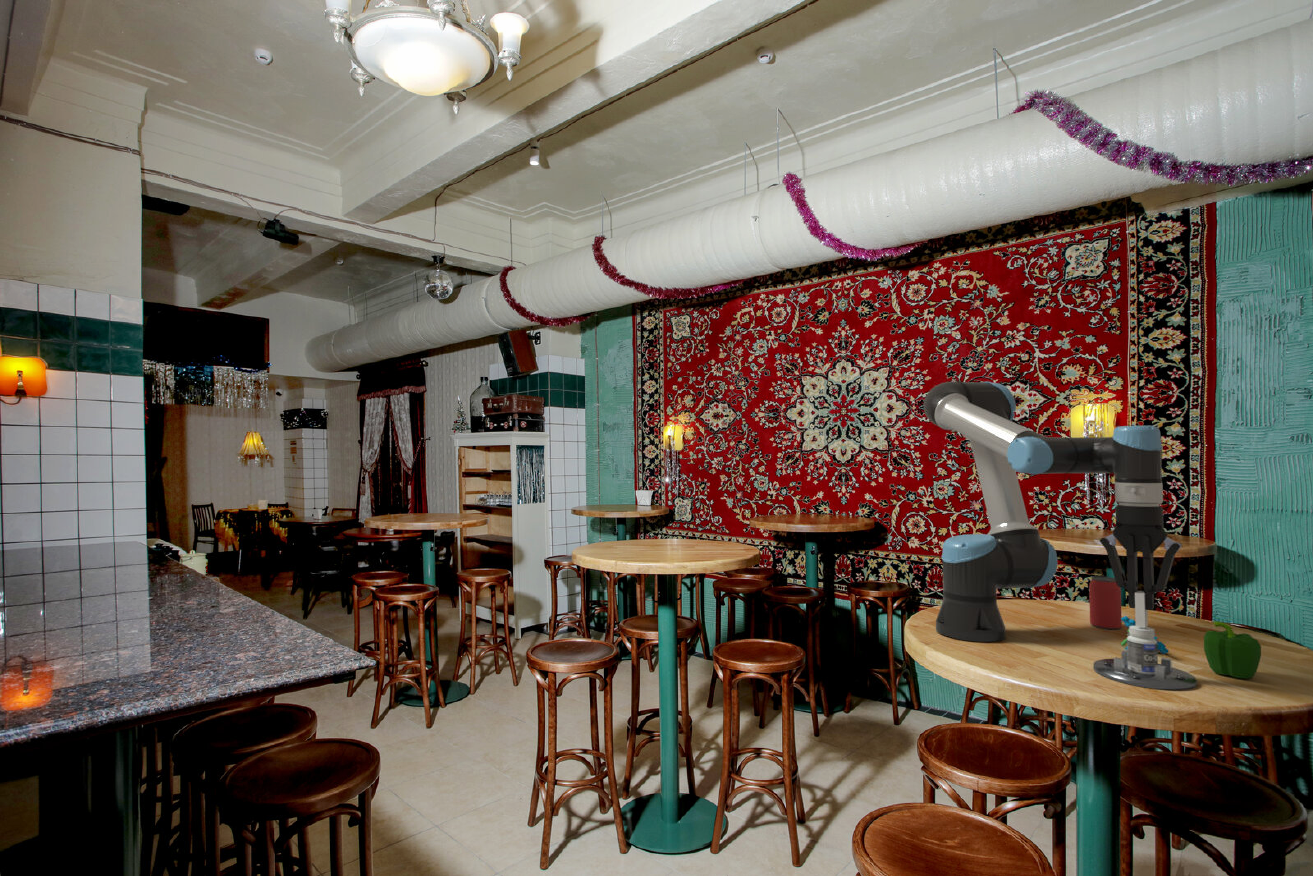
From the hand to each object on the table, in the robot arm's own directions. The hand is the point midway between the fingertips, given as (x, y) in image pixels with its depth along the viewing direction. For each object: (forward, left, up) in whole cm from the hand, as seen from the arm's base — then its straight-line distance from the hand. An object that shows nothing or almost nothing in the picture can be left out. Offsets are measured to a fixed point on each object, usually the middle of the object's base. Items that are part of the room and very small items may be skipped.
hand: (1141, 625), depth 126 cm
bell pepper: (+12, +13, -10) cm, 20 cm away
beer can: (-14, +38, -10) cm, 42 cm away
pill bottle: (0, 0, -9) cm, 9 cm away
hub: (0, 0, -10) cm, 10 cm away
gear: (-3, +19, -10) cm, 22 cm away
